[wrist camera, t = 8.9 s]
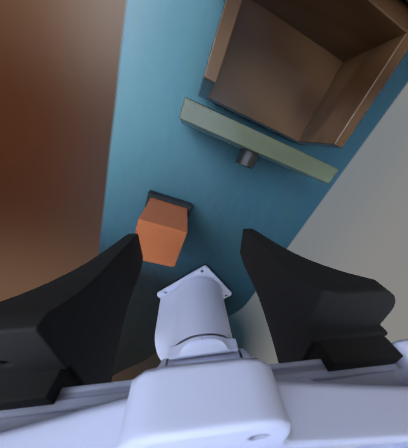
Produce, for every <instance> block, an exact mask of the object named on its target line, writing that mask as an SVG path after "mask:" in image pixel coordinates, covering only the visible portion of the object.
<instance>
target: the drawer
mask: <svg viewBox="0 0 408 448" xmlns="http://www.w3.org/2000/svg"><path fill="white" fill-rule="evenodd" d="M407 51H408V4H407V3H406V2H404V1H403V0H226V1H225V4H224V8H223V11H222V15H221V18H220V21H219V25H218V28H217V32H216V35H215V39H214V42H213V46H212V49H211V52H210V56H209V59H208V63H207V66H206V70H205V73H204V77H203V80H202V83H201V87H200V90H199V94H198V95H199V96H201V97H203V98H205V99H207V100H209V101H211V102H213V103H216V104H218V105H220V106H222V107H224V108H226V109H228V110H230V111H232V112H234V113H236V114H238V115H240V116H242V117H244V118H247V119H249V120H251V121H253V122H255V123H257V124H259V125H261V126H263V127H265V128H267V129H269V130H271V131H273V132H275V133H278V134H280V135H282V136H284V137H286V138H288V139H290V140H292V141H294V142H296V143H298V144H302V145H314V146H325V147H335V148H342V147H343V146H344V144H345V143H346V141H347V140H348V138H349V137H350V135H351V134H352V132H353V131H354V129H355V128H356V127H357V125H358V124H359V122H360V121H361V119H362V118H363V116H364V115H365V113H366V112H367V110H368V109H369V107H370V106H371V104H372V103H373V101H374V100H375V98H376V97H377V95H378V94H379V92H380V91H381V89H382V88H383V86H384V85H385V83H386V82H387V80H388V79H389V77H390V76H391V75H392V73H393V72H394V70H395V69H396V67H397V66H398V64H399V63H400V61H401V60H402V58H403V57H404V55H405V54H406V52H407ZM180 120H181V122H182V124H184V125H186V126H188V127H191V128H193V129H195V130H198V131H200V132H202V133H205V134H207V135H209V136H212V137H214V138H216V139H219V140H221V141H223V142H226V143H228V144H230V145H233V146H235V147H237V148H240V149H241V151H240V153H239V155H238V158H237V160H236V162H237V163H239V164H241V165H243V166H246V167H248V168H251V169H252V168H253V166H254V164H255V162H256V160H257V158H258V157H260V158H263V159H265V160H267V161H270V162H272V163H274V164H277V165H279V166H281V167H284V168H286V169H288V170H291V171H294V172H297V173H299V174H302V175H305V176H308V177H311V178H314V179H316V180H319V181H322V182H325V183H330V181H331V180H332V178H333V177H334V176H335V174H336V173H337V171H338V169H337V168H335V167H333V166H331V165H329V164H326V163H324V162H322V161H320V160H318V159H316V158H314V157H312V156H309V155H307V154H305V153H303V152H301V151H299V150H297V149H295V148H292V147H290V146H288V145H286V144H284V143H282V142H280V141H278V140H276V139H273V138H271V137H269V136H267V135H265V134H263V133H261V132H259V131H256V130H254V129H252V128H250V127H248V126H246V125H244V124H242V123H240V122H237V121H235V120H233V119H231V118H229V117H227V116H225V115H223V114H220V113H218V112H216V111H214V110H212V109H210V108H208V107H206V106H203V105H201V104H199V103H197V102H195V101H193V100H191V99H189V98H187V97H185V99H184V103H183V107H182V111H181V115H180Z"/></svg>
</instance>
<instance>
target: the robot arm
mask: <svg viewBox="0 0 408 448" xmlns="http://www.w3.org/2000/svg"><path fill="white" fill-rule="evenodd" d="M240 253H241V257H242V260H243V263H244V266H245V268H246V270H247V273H248V275H249V277H250V279H251V281H252V283H253V285H254V288H255V290H256V292H257V294H258V297H259V299H260V302H261V305H262V308H263V311H264V314H265V317H266V320H267V324H268V327H269V330H270V333H271V337H272V340H273V344H274V347H275V351H276V355H277V358H278V362H279V363H278V364H269V365H268V364H267V363H265V362H263V361H261V360H259V359H257V358H251V356H250V355H249V354H248V353H247V352H246V351H245V349H243V348H240V349H238V347H237V342H236V339H232V334H231V330H230V325H229V321H228V316H227V312H226V307H225V303H224V299H225V298H227V297H229V296H230V295H231V294H232V293H231V291H230V290H229V289H228V288H227V287H226V286H225V284H224V283H223V282H222V281H221V280H220V279H219V278H218V277H217V276H216V275H215V274H214V273H213V272H212V271H211V269H210V268H209V267H208V266H206V265H204V266H202V267H200V268H198V269H197V270H195V271H193V272H192V273H190V274H188V275H186V276H185V277H183V278H181V279H180V280H178V281H176V282H175V283H173V284H171V285H169V286H168V287H166V288H164V289H163V290H161V291H159V292H158V293H157V296H158V297H159V298H161V299H160V306H159V312H158V319H157V325H156V331H155V346H156V351H157V354H158V356H159V358H160V360H161V363H160V365H159V366H158V367H157V368H153V369H149V370H146V371H144V372H143V373H141V374H140V375H138V376H137V377H136V378H135V379H133V380H126V381H117V382H111V380H112V375H113V369H114V364H115V359H116V354H117V349H118V344H119V340H120V335H121V331H122V326H123V322H124V318H125V314H126V310H127V307H128V304H129V301H130V298H131V295H132V293H133V290H134V287H135V284H136V282H137V279H138V276H139V273H140V270H141V266H142V261H143V255H142V250H141V245H140V240H139V236H138V234H128V235H126V236H125V237H123V238H122V239H120V240H119V241H118V242H116V243H115V244H114V245H112V246H111V247H110V248H108V249H107V250H105V251H104V252H102V253H101V254H100V255H98V256H97V257H95V258H94V259H92V260H90V261H89V262H87V263H86V264H84V265H82V266H80V267H79V268H77V269H75V270H73V271H71V272H69V273H67V274H65V275H63V276H61V277H59V278H57V279H55V280H53V281H51V282H49V283H47V284H45V285H42V286H40V287H38V288H35V289H33V290H30V291H28V292H25V293H23V294H21V295H18V296H15V297H12V298H9V299H7V300H4V301H1V302H0V448H408V339H405V340H399V341H395V342H393V343H391V342H390V341H389V340H388V339H386V337H385V336H386V335H387V331H386V330H385V329H384V328H383V327H381V325H380V324H381V322H382V321H383V320H384V319H385V318H386V316H387V315H388V314H389V313H390V312H391V310H392V309H393V307H394V304H395V297H394V295H393V294H392V293H391V292H390V291H388V290H387V289H386V288H384V287H383V286H382V285H381V284H379V283H378V282H377V281H375V280H373V279H369V278H365V277H361V276H357V275H353V274H349V273H346V272H342V271H339V270H336V269H333V268H330V267H327V266H324V265H321V264H318V263H316V262H313V261H311V260H308V259H306V258H303V257H301V256H299V255H297V254H294V253H293V252H291V251H289V250H287V249H285V248H283V247H281V246H280V245H278V244H276V243H275V242H273V241H271V240H270V239H268V238H266V237H265V236H263V235H262V234H260V233H259V232H257V231H255V230H254V229H243V235H242V243H241V250H240ZM201 270H202V271H201ZM165 291H166V292H165Z"/></svg>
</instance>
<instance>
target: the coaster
mask: <svg viewBox="0 0 408 448" xmlns="http://www.w3.org/2000/svg"><path fill="white" fill-rule="evenodd" d="M150 198H154V199H158V200H161V201H164V202H167V203H171V204H174V205H177V206H181V207H184V208H187V219H188V216H189V213H190V211H191V208H192V203H189V202H186V201H183V200H180V199H176V198H173V197H170V196H167V195H164V194H161V193H157V192H154V191H151V190H150V191H149V193H148V197H147V201H146V205H147V203H148V201H149V200H150ZM146 205H145V207H146Z"/></svg>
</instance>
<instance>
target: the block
mask: <svg viewBox="0 0 408 448" xmlns="http://www.w3.org/2000/svg"><path fill="white" fill-rule="evenodd" d="M135 234H138V236H139V240H140V245H141V250H142V255H143V261H148V262H152V263H157V264H162V265H166V266H171V267H175V264H176V261H177V259H178V256H179V253H180V251H181V248H182V245H183V243H184V240H185V237H186V235H187V208H184V207H181V206H177V205H174V204H171V203H167V202H164V201H161V200H158V199H154V198H150V200H149V201H148V203H147V205H146V207H145V209H144V210H143V212H142V214H141V216H140V217H139V219H138V224H137V228H136V233H135Z"/></svg>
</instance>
